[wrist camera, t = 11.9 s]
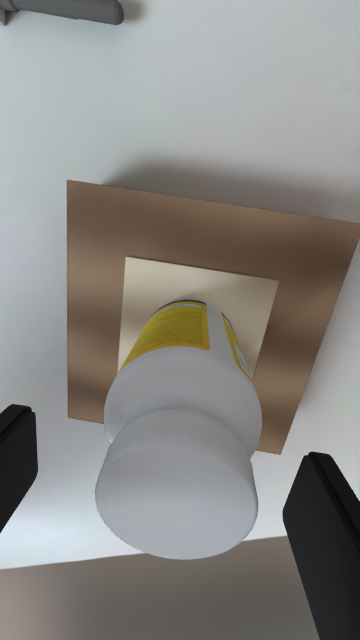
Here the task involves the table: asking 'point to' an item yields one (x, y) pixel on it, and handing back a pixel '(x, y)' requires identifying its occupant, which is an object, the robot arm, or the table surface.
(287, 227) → the stand
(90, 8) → the walkie-talkie
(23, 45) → the table surface
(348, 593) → the robot arm
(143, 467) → the pill bottle
